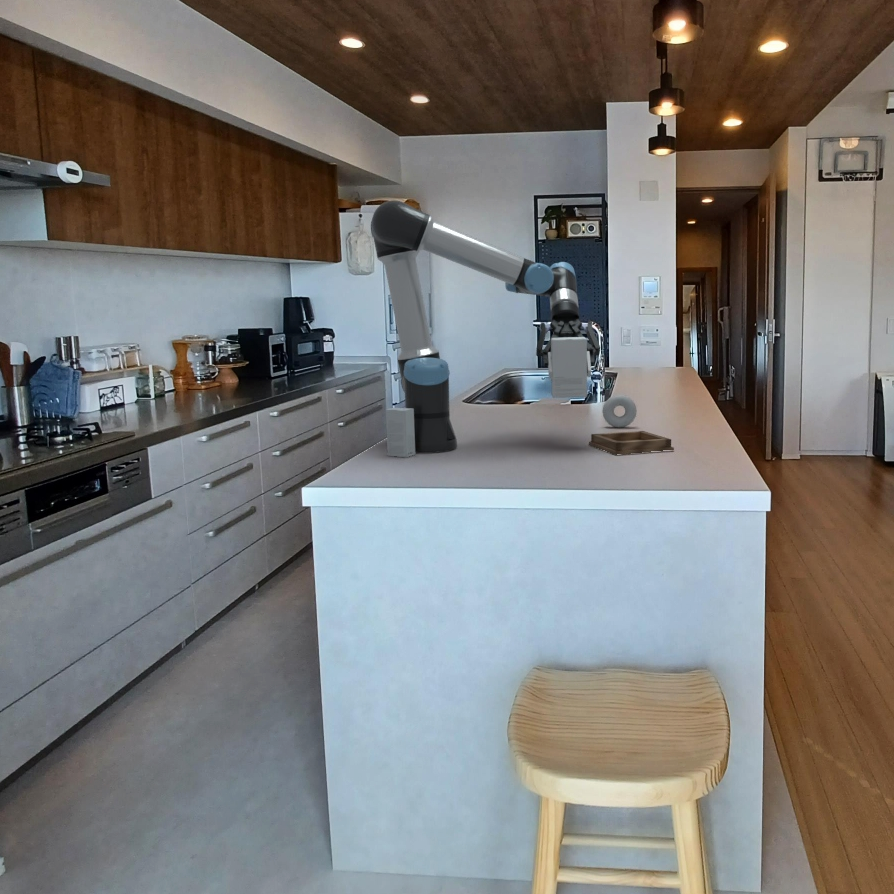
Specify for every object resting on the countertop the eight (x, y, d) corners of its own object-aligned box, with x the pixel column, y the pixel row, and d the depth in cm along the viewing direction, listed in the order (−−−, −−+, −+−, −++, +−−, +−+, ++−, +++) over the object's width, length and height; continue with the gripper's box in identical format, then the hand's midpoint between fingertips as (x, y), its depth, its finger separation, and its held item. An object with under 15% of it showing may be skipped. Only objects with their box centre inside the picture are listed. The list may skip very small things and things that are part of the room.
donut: (602, 428, 256) (602, 395, 255) (602, 426, 260) (602, 393, 258) (636, 428, 255) (637, 395, 253) (636, 427, 258) (636, 393, 256)
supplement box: (585, 393, 228) (585, 336, 225) (587, 397, 219) (587, 338, 216) (550, 394, 229) (550, 337, 226) (551, 398, 220) (551, 339, 217)
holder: (615, 455, 213) (615, 443, 212) (588, 445, 228) (588, 434, 228) (673, 451, 217) (674, 439, 216) (643, 441, 232) (643, 430, 232)
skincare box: (415, 455, 219) (414, 408, 217) (406, 458, 215) (405, 410, 213) (396, 453, 222) (394, 407, 220) (386, 456, 218) (385, 409, 216)
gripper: (604, 318, 235) (611, 382, 222) (523, 320, 236) (526, 384, 223) (606, 299, 229) (614, 363, 216) (524, 301, 230) (527, 365, 217)
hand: (569, 374), depth 220 cm, fingers closed on supplement box, 9 cm apart
